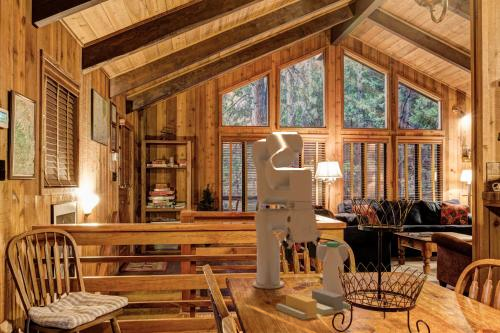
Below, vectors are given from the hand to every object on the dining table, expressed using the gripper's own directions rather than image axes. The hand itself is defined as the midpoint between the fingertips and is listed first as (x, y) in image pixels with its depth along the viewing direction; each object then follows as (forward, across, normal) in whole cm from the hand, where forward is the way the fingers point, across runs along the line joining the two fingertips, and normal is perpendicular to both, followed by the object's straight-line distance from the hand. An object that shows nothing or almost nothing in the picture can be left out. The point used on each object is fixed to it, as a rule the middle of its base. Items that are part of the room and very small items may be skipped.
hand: (300, 259), depth 152 cm
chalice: (+19, +47, +37) cm, 63 cm away
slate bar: (+17, +11, 0) cm, 20 cm away
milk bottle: (+18, +25, +13) cm, 34 cm away
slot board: (+18, +5, 0) cm, 19 cm away
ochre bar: (+17, 0, 0) cm, 17 cm away
